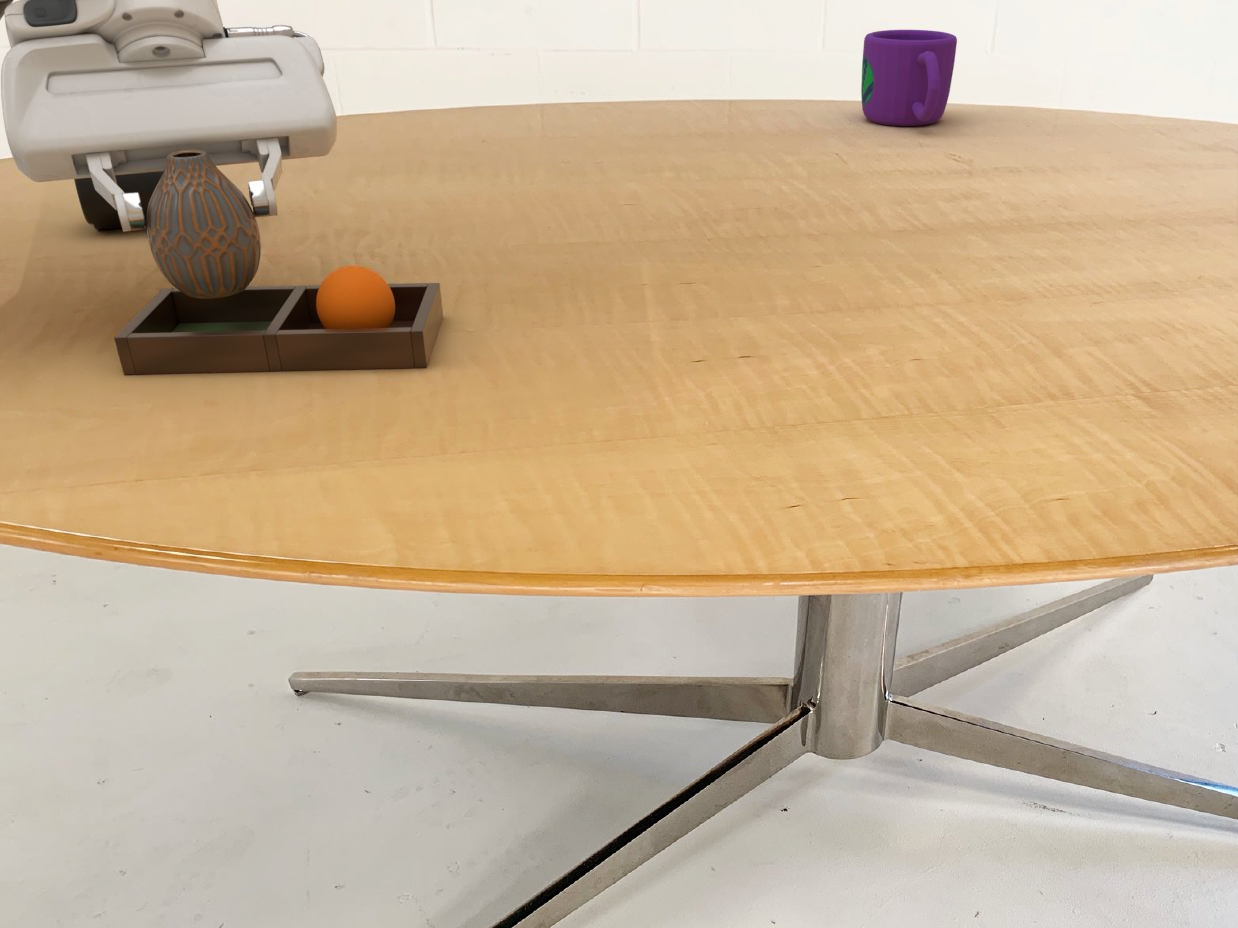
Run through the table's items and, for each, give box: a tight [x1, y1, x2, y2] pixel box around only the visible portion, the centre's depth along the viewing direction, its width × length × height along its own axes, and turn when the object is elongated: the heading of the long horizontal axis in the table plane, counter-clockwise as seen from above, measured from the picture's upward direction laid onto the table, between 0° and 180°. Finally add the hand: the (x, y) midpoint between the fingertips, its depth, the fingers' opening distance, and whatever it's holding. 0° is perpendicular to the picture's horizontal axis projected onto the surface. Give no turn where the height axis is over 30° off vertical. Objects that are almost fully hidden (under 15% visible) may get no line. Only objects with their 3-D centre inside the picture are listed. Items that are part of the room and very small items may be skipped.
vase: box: [146, 150, 262, 299], centre depth 76 cm, size 7×7×9 cm
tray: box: [114, 282, 444, 377], centre depth 80 cm, size 20×10×3 cm, turn 93°
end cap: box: [73, 171, 164, 231], centre depth 108 cm, size 10×7×7 cm
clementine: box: [316, 265, 395, 329], centre depth 79 cm, size 5×5×5 cm
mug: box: [860, 29, 958, 127], centre depth 145 cm, size 17×11×10 cm, turn 6°
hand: (200, 219), depth 76 cm, fingers closed on vase, 7 cm apart
